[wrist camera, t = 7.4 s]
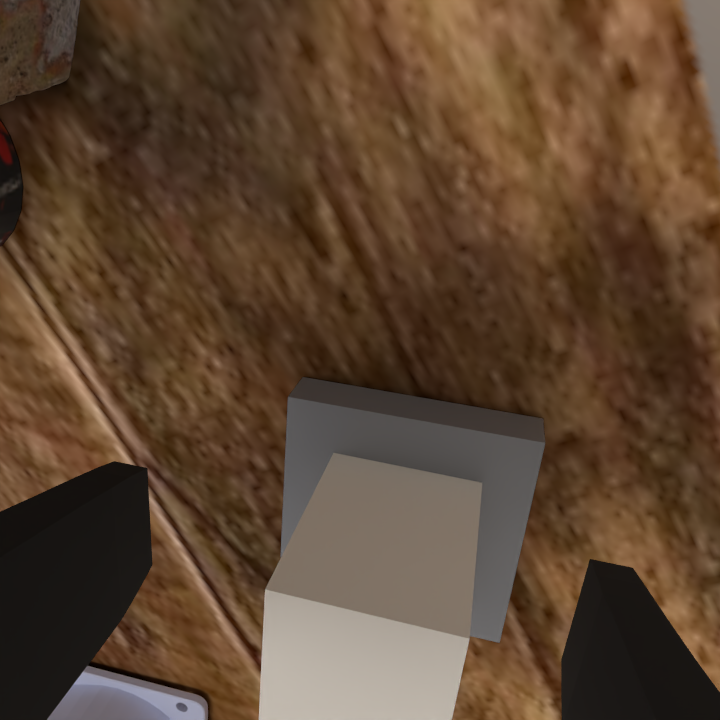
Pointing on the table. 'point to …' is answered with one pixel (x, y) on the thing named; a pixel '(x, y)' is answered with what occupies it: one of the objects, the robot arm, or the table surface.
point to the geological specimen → (35, 45)
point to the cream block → (372, 597)
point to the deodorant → (9, 186)
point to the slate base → (423, 467)
